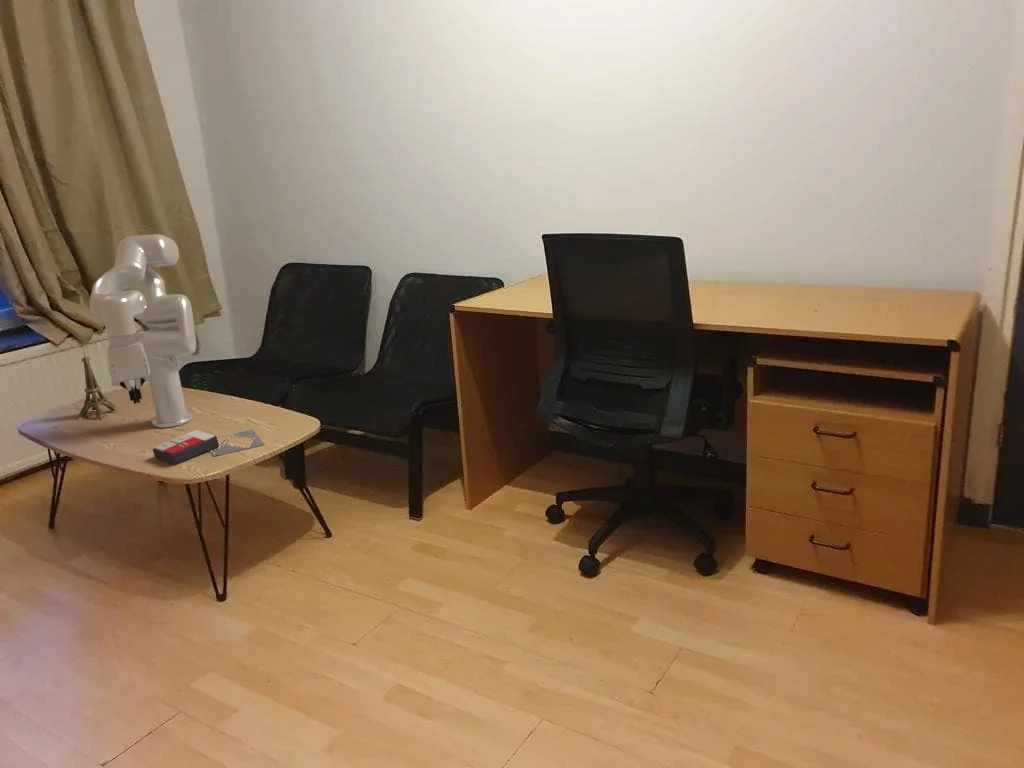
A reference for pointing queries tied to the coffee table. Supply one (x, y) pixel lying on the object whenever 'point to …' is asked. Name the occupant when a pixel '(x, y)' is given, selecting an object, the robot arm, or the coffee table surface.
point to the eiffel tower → (93, 393)
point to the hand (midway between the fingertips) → (136, 402)
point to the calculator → (185, 447)
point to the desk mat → (231, 449)
